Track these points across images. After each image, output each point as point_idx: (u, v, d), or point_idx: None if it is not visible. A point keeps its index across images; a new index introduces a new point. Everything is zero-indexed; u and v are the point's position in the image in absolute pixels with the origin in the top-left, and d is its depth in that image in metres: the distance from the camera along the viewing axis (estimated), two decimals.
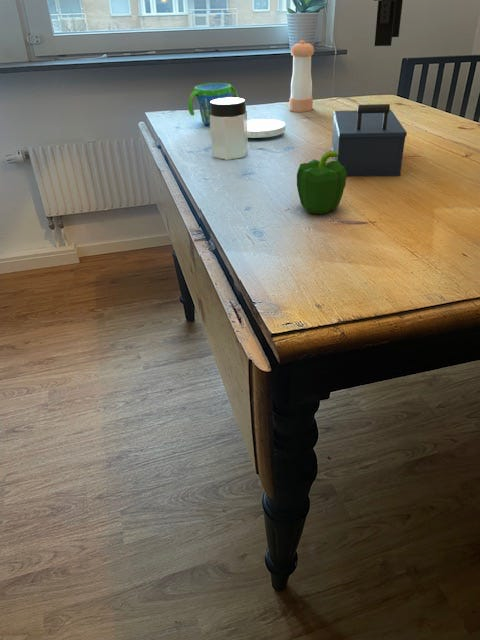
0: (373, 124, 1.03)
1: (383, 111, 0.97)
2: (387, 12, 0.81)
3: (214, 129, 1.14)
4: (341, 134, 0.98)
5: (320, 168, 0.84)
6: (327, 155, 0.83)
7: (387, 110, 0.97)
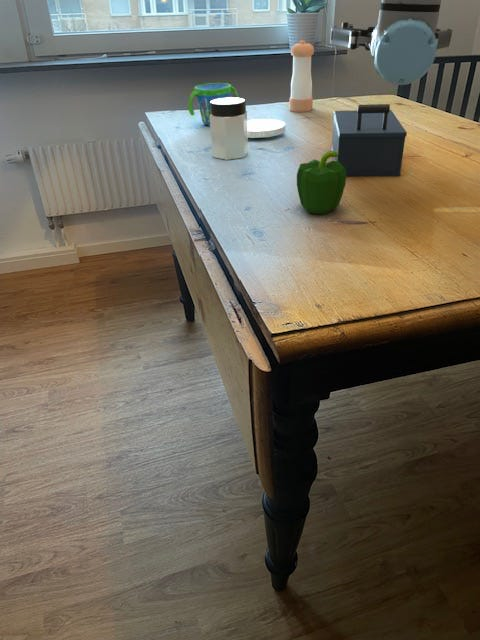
0: (373, 124, 1.03)
1: (383, 111, 0.97)
2: None
3: (214, 129, 1.14)
4: (341, 134, 0.98)
5: (320, 168, 0.84)
6: (327, 155, 0.83)
7: (387, 110, 0.97)
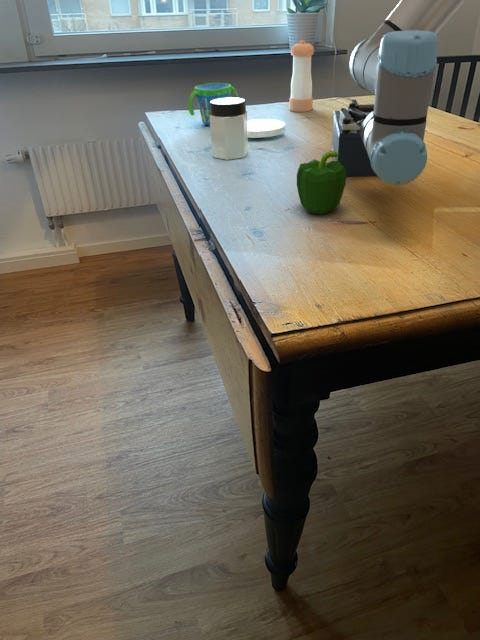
0: None
1: None
2: None
3: (214, 129, 1.14)
4: (341, 134, 0.98)
5: (320, 168, 0.84)
6: (327, 155, 0.83)
7: None
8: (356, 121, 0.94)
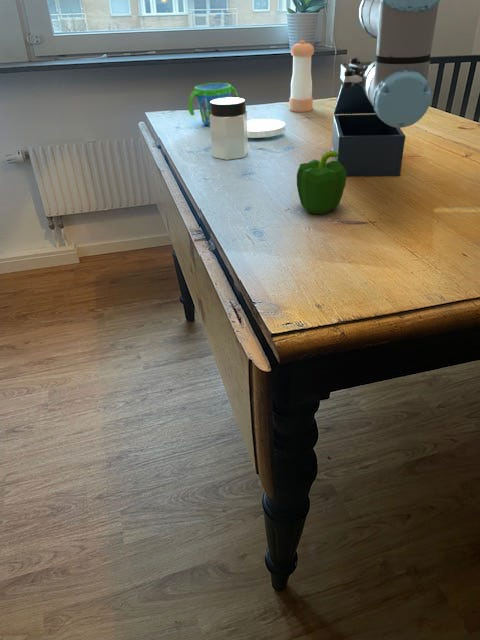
0: None
1: None
2: None
3: (214, 129, 1.14)
4: None
5: (320, 168, 0.84)
6: (327, 155, 0.83)
7: None
8: (358, 75, 0.93)
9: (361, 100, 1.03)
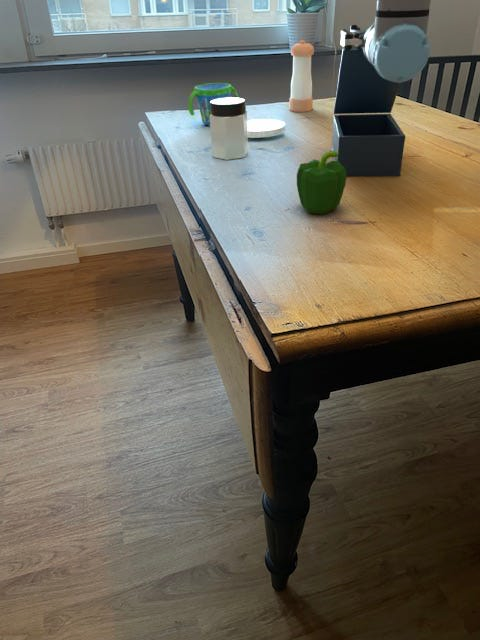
0: None
1: None
2: None
3: (214, 129, 1.14)
4: None
5: (320, 168, 0.84)
6: (327, 155, 0.83)
7: None
8: None
9: (361, 81, 1.03)
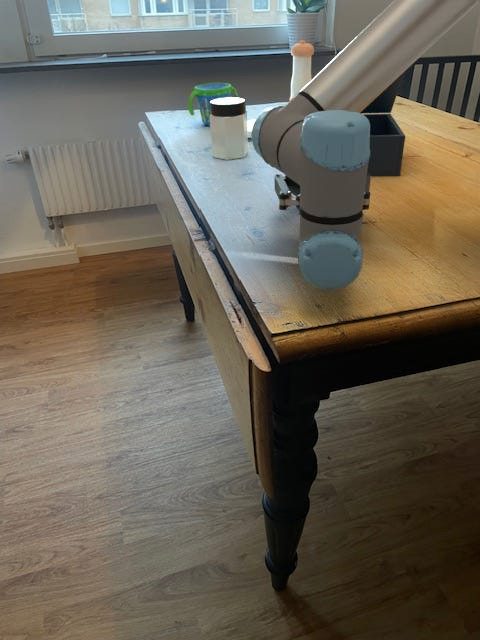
0: None
1: None
2: None
3: (214, 129, 1.14)
4: None
5: None
6: None
7: None
8: (295, 191, 0.81)
9: None
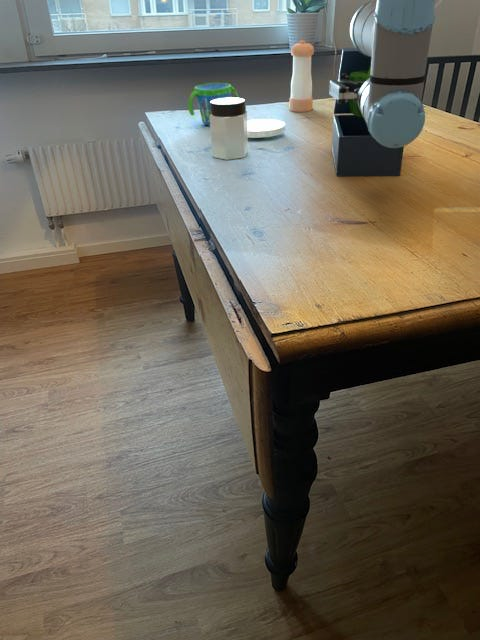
0: None
1: None
2: None
3: (214, 129, 1.14)
4: (344, 48, 0.95)
5: (369, 75, 0.95)
6: None
7: None
8: (349, 92, 0.92)
9: None
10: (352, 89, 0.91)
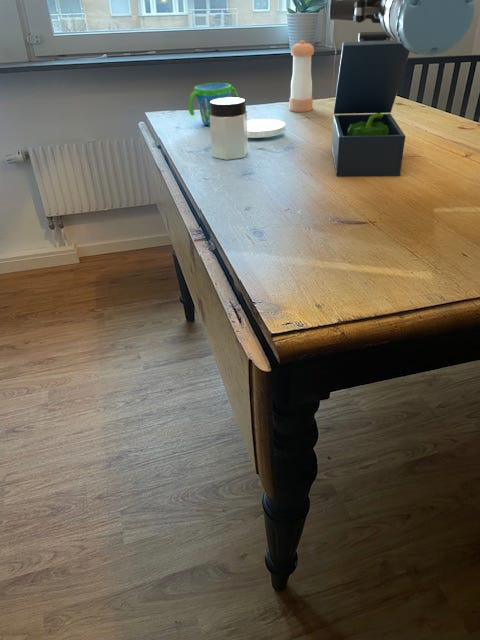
0: None
1: (384, 35, 0.97)
2: None
3: (214, 129, 1.14)
4: (344, 43, 0.95)
5: (367, 127, 1.02)
6: (374, 116, 1.01)
7: None
8: None
9: (361, 79, 1.04)
10: None
